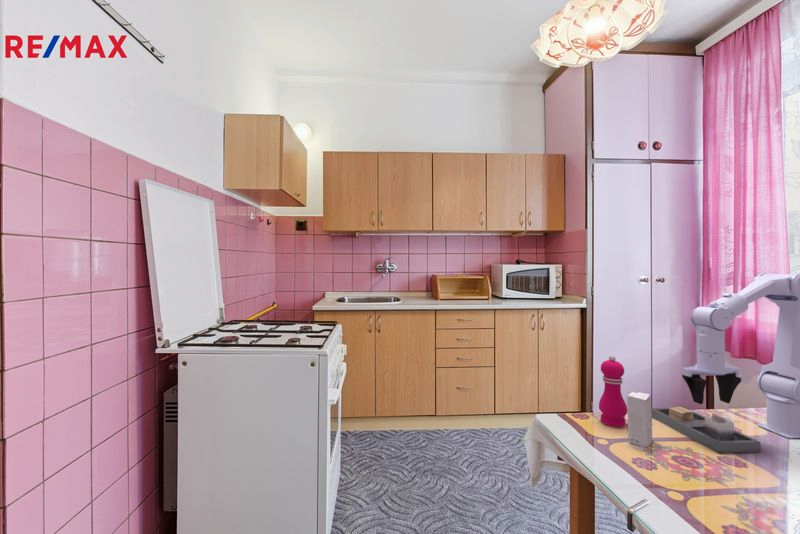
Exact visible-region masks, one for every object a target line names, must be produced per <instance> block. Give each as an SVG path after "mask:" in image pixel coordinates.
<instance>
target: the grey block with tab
mask: <svg viewBox="0 0 800 534" xmlns="http://www.w3.org/2000/svg"><path fill="white" fill-rule="evenodd" d="M704 417H705V435H707V436H709V437H711V438H713V439H715V440H717V441H734V430H735V423H734V422H733V421H731V420H729V419H726V418H725V417H722V416H719V415H717V414H715V413H712V414H711V416H704Z"/></svg>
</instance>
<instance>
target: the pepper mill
mask: <svg viewBox="0 0 800 534" xmlns="http://www.w3.org/2000/svg"><path fill="white" fill-rule="evenodd" d="M616 359H617V357H616V356H615V355H612V354H611V355H609V356H608V359H607V360H605V361H604V360H603V362H602V363H601V364H600V371H601V373H602V374H603V375H602V381H603V382H604V383H603V384H604V390H603V393H602V395H601V397H600V399H599V402H598V409H599V411H600V412H601V415H600V421H601V423H602V424H604V425H606V426H609V427H613V428H624V427H625V426H627V425H626V421H627V420H626V418H625V416H626V415H628V405H627V404H626V402H625V401H626V400H625V399H624V398H623V395H622V391H621V390H622V389H621V388H622V386H621V385H622V384H623V378H622V377H623V376H624V375H625V368H624V366H623V364H622V363H621V362H619V361H617V360H616Z"/></svg>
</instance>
